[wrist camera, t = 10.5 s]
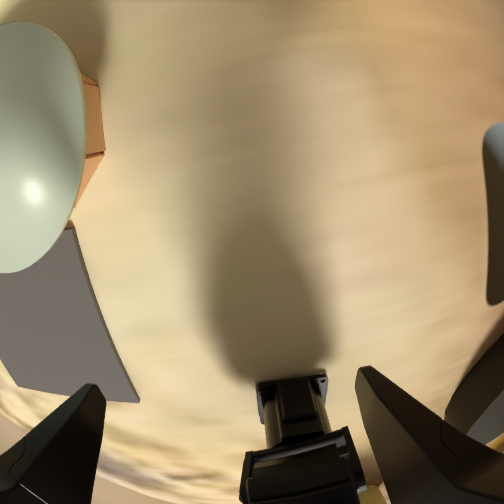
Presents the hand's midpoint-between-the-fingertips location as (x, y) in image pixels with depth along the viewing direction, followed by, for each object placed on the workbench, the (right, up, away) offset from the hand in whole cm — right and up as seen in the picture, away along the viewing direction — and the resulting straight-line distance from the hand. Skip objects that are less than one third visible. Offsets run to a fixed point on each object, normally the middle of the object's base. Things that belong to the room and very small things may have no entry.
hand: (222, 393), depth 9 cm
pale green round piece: (-14, +10, +2) cm, 18 cm away
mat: (-20, -3, +13) cm, 24 cm away
